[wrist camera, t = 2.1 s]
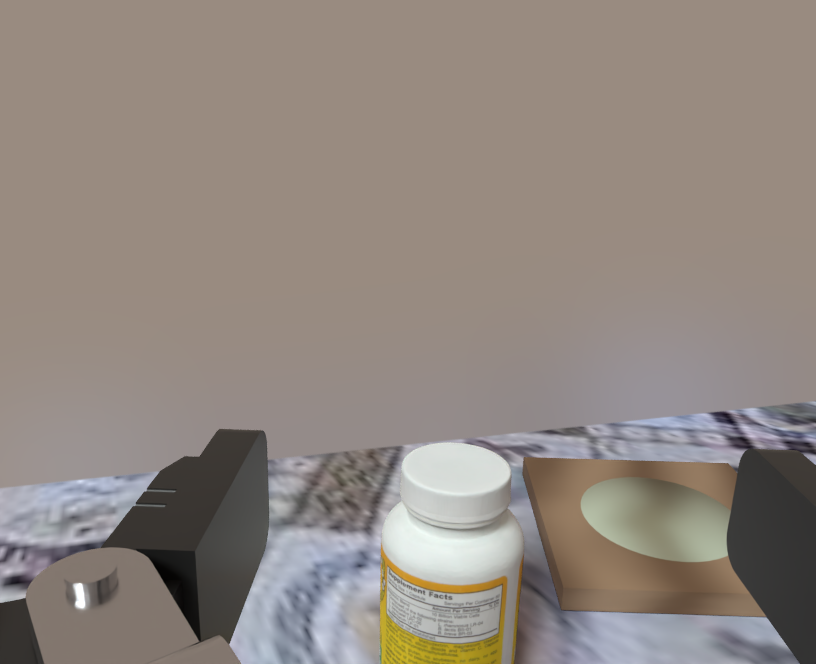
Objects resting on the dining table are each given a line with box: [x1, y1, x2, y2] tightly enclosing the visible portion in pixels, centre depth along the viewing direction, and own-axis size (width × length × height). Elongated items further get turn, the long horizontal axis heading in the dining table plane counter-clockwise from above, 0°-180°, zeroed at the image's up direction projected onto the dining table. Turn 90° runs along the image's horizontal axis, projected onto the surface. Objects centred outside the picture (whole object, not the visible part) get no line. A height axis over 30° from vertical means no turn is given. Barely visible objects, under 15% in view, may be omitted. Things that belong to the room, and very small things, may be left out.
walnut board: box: [523, 457, 766, 617], centre depth 38 cm, size 13×13×1 cm
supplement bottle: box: [380, 443, 524, 664], centre depth 26 cm, size 5×5×10 cm
